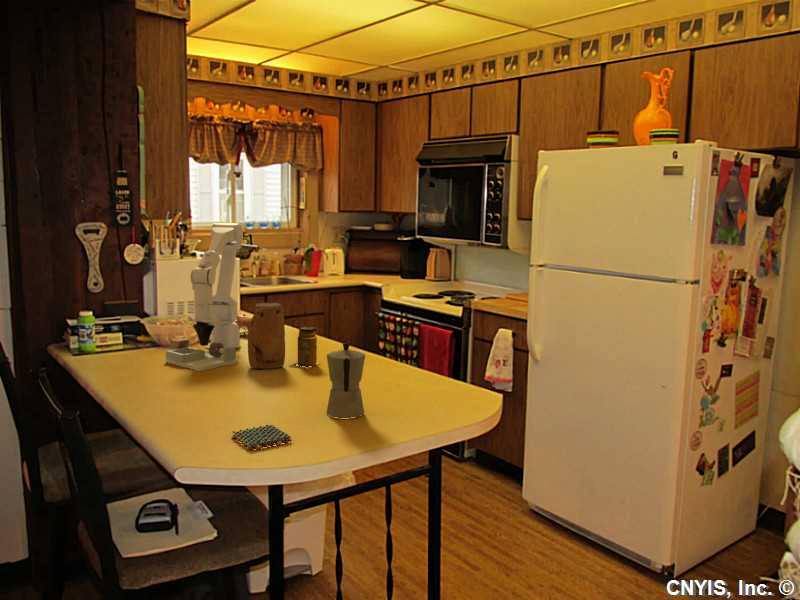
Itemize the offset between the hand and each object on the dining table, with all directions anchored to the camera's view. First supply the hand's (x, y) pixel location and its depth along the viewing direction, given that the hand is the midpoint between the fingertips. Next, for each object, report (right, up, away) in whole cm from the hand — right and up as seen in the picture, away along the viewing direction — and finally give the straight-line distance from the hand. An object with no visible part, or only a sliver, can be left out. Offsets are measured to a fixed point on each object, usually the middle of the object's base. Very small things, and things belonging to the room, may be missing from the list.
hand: (204, 345), depth 224 cm
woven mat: (+34, -17, -75) cm, 84 cm away
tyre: (+5, -3, -3) cm, 7 cm away
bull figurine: (+4, +1, +40) cm, 40 cm away
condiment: (+34, -6, -6) cm, 35 cm away
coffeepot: (+51, -14, -56) cm, 77 cm away
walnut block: (-8, -4, +1) cm, 9 cm away
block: (+22, -6, -10) cm, 25 cm away
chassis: (+1, -5, -6) cm, 8 cm away
